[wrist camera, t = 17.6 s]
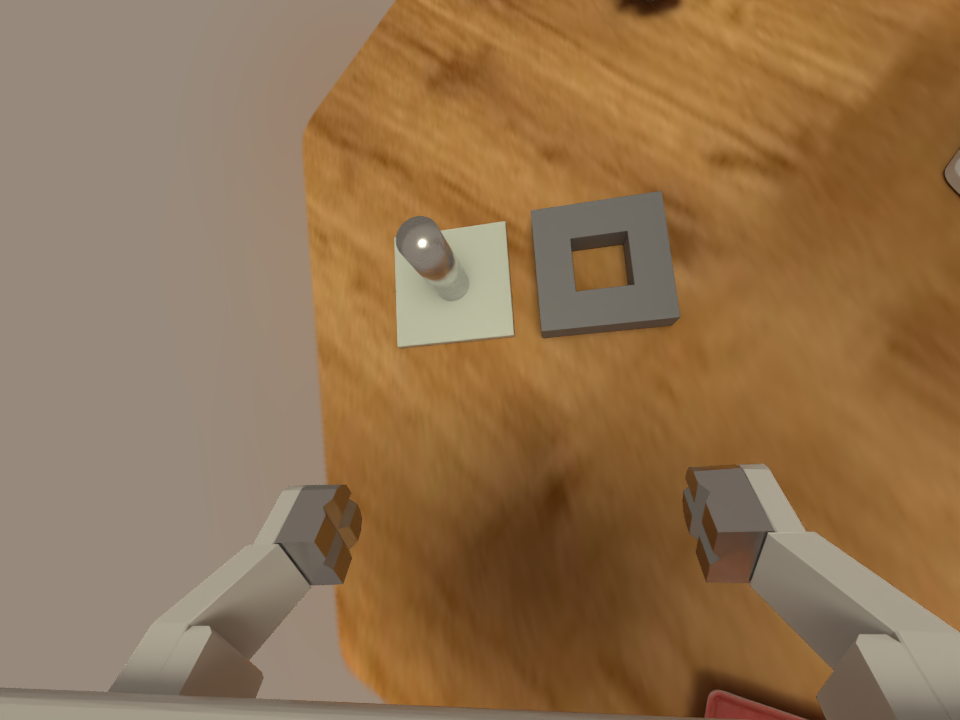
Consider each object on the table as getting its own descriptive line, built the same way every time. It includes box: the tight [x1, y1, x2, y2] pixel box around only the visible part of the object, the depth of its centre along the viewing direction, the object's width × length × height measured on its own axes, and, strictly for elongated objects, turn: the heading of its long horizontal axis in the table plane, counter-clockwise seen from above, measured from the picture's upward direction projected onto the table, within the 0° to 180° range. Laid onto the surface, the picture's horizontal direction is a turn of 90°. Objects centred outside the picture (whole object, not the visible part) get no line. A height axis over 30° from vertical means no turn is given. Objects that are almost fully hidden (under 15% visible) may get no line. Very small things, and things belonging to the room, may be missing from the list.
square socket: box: [531, 191, 680, 338], centre depth 41 cm, size 12×12×3 cm
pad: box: [394, 221, 515, 348], centre depth 45 cm, size 12×12×1 cm
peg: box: [396, 216, 469, 301], centre depth 39 cm, size 4×4×11 cm
